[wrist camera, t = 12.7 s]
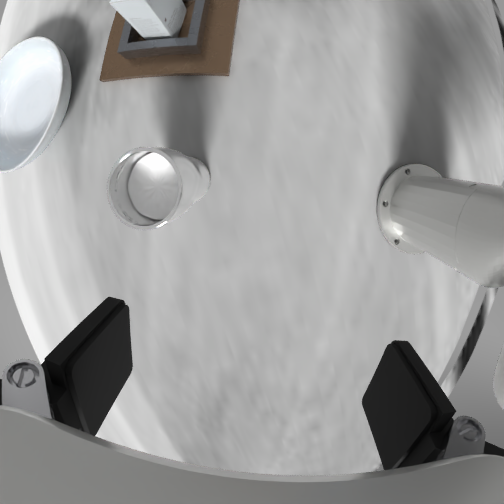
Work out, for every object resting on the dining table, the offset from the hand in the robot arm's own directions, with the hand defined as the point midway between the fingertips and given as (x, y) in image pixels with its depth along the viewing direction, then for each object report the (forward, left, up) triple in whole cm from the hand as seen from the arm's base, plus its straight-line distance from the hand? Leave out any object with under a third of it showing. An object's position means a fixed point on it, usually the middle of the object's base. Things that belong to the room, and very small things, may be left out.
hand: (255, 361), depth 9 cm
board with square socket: (+14, -26, -28) cm, 41 cm away
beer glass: (+9, -4, -29) cm, 30 cm away
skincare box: (+14, -26, -27) cm, 41 cm away
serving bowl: (+36, -16, -29) cm, 49 cm away
